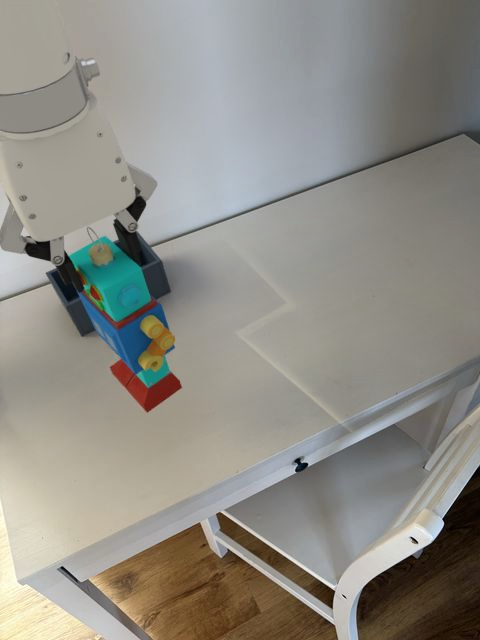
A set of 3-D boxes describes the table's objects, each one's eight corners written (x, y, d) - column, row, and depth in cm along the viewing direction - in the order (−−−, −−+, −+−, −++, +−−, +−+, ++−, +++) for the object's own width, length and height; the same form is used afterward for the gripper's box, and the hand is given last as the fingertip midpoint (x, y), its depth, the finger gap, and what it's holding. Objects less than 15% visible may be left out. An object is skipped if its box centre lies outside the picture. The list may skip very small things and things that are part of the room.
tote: (81, 336, 92) (65, 307, 86) (61, 303, 97) (45, 272, 91) (171, 291, 97) (161, 260, 91) (147, 261, 102) (136, 230, 96)
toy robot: (106, 367, 72) (31, 217, 52) (144, 342, 74) (85, 189, 54) (154, 422, 66) (91, 277, 46) (193, 393, 68) (149, 243, 48)
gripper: (117, 43, 45) (162, 218, 59) (-95, 113, 39) (11, 286, 54) (158, 77, 41) (196, 255, 55) (-72, 159, 35) (36, 332, 50)
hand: (104, 269), depth 54 cm, fingers closed on toy robot, 5 cm apart
